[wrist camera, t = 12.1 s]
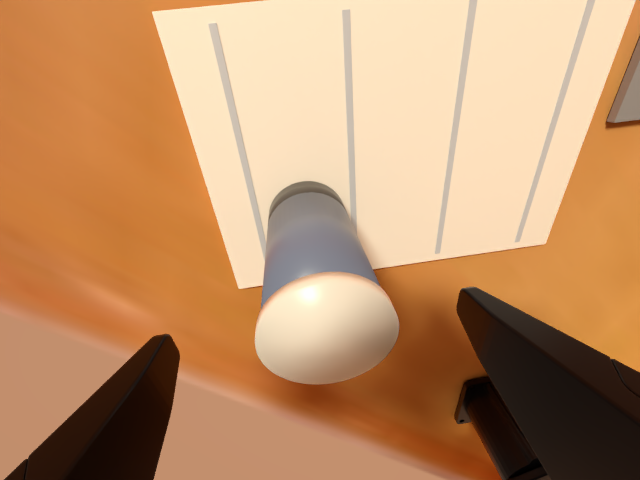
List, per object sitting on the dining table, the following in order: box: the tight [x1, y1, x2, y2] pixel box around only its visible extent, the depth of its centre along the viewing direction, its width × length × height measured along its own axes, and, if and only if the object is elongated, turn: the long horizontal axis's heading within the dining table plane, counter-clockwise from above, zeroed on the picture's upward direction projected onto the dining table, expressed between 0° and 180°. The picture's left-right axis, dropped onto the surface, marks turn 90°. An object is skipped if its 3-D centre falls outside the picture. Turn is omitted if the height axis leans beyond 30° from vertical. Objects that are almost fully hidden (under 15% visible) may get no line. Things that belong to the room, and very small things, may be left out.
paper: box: [152, 0, 636, 289], centre depth 14 cm, size 13×19×1 cm
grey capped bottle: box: [255, 181, 399, 384], centre depth 12 cm, size 4×4×8 cm
